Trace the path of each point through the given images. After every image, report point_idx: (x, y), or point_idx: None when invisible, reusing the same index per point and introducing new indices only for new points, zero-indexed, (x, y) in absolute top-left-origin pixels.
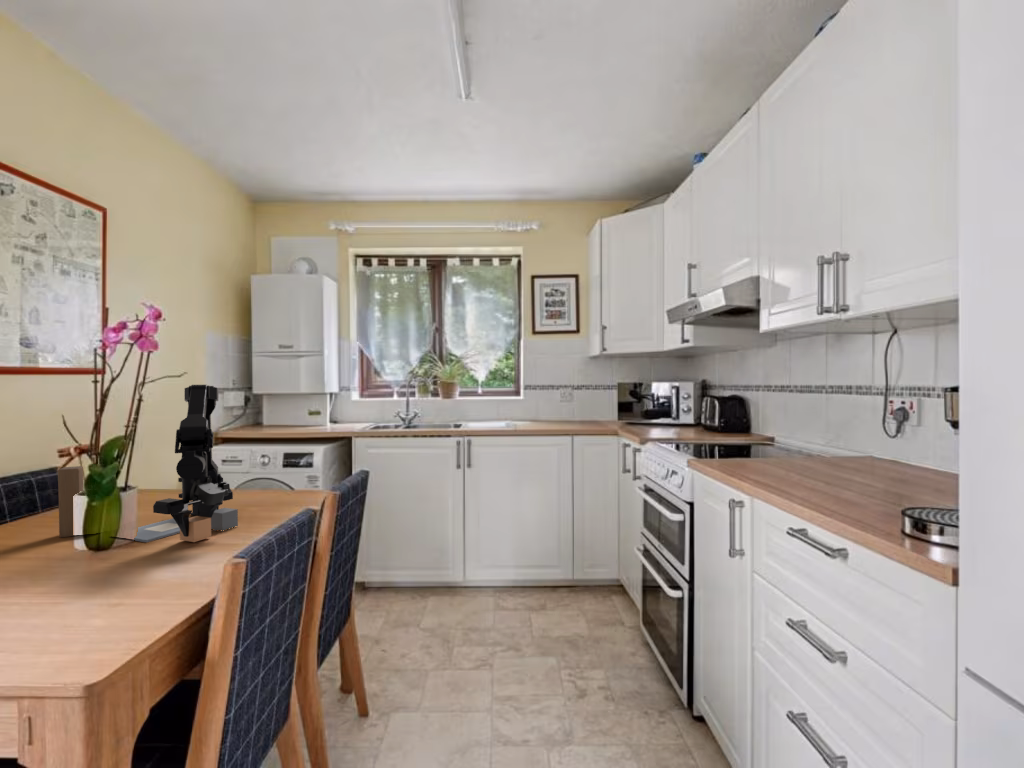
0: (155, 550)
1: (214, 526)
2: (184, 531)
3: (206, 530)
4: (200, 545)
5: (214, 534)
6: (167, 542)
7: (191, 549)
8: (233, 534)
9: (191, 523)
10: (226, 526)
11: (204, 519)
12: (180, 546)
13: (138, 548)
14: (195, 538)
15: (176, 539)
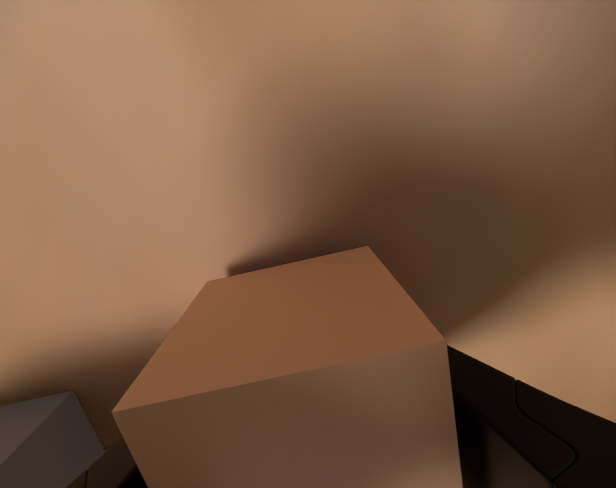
0: (584, 309)
1: None
2: None
3: (238, 302)
4: (356, 157)
5: (147, 362)
6: None
7: (459, 104)
8: (33, 244)
9: (442, 366)
10: (12, 421)
11: (236, 384)
12: (450, 263)
13: None
14: (357, 258)
15: None
